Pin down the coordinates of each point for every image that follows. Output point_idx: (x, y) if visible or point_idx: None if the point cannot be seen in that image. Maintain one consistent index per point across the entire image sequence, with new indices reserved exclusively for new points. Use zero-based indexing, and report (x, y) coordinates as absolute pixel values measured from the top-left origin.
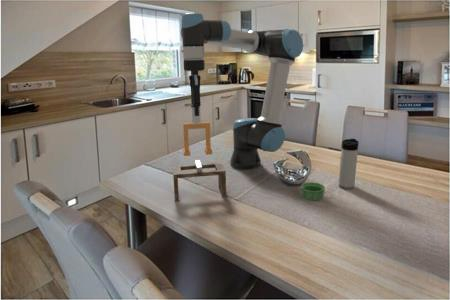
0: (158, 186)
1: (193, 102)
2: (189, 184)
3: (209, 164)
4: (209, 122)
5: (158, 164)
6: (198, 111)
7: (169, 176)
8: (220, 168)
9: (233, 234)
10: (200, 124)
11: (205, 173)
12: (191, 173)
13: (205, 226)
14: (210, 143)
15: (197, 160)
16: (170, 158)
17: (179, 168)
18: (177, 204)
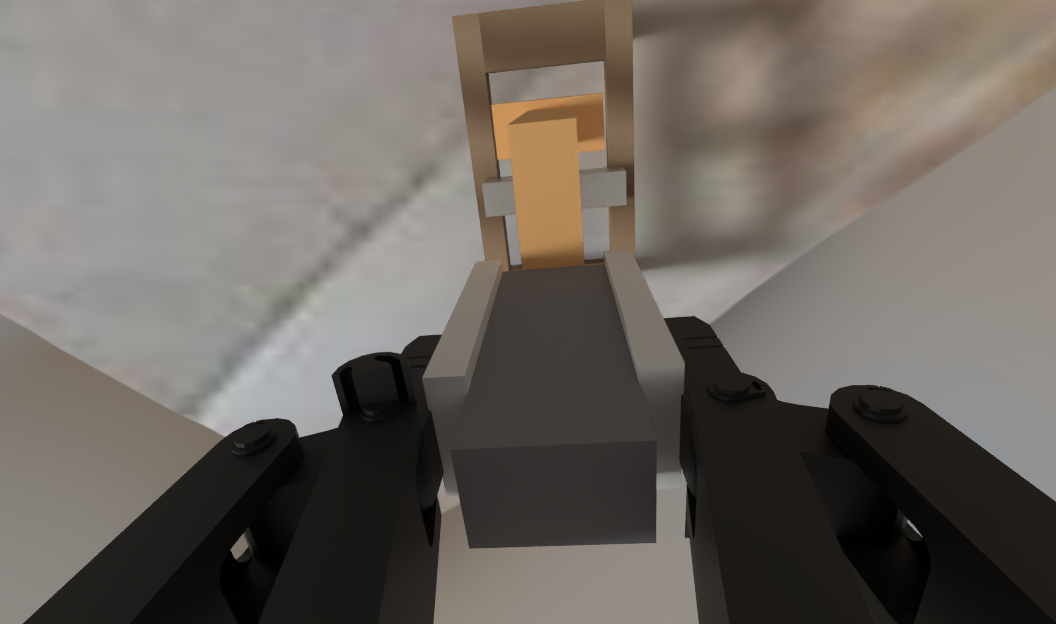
0: None
1: (895, 581)
2: (431, 215)
3: (486, 113)
4: (551, 123)
5: (174, 369)
6: (726, 355)
7: (330, 311)
8: (578, 33)
9: (1008, 14)
10: (581, 247)
11: (632, 144)
12: (634, 231)
13: (887, 142)
14: (567, 108)
15: (489, 199)
16: (71, 320)
17: None
18: (649, 262)
